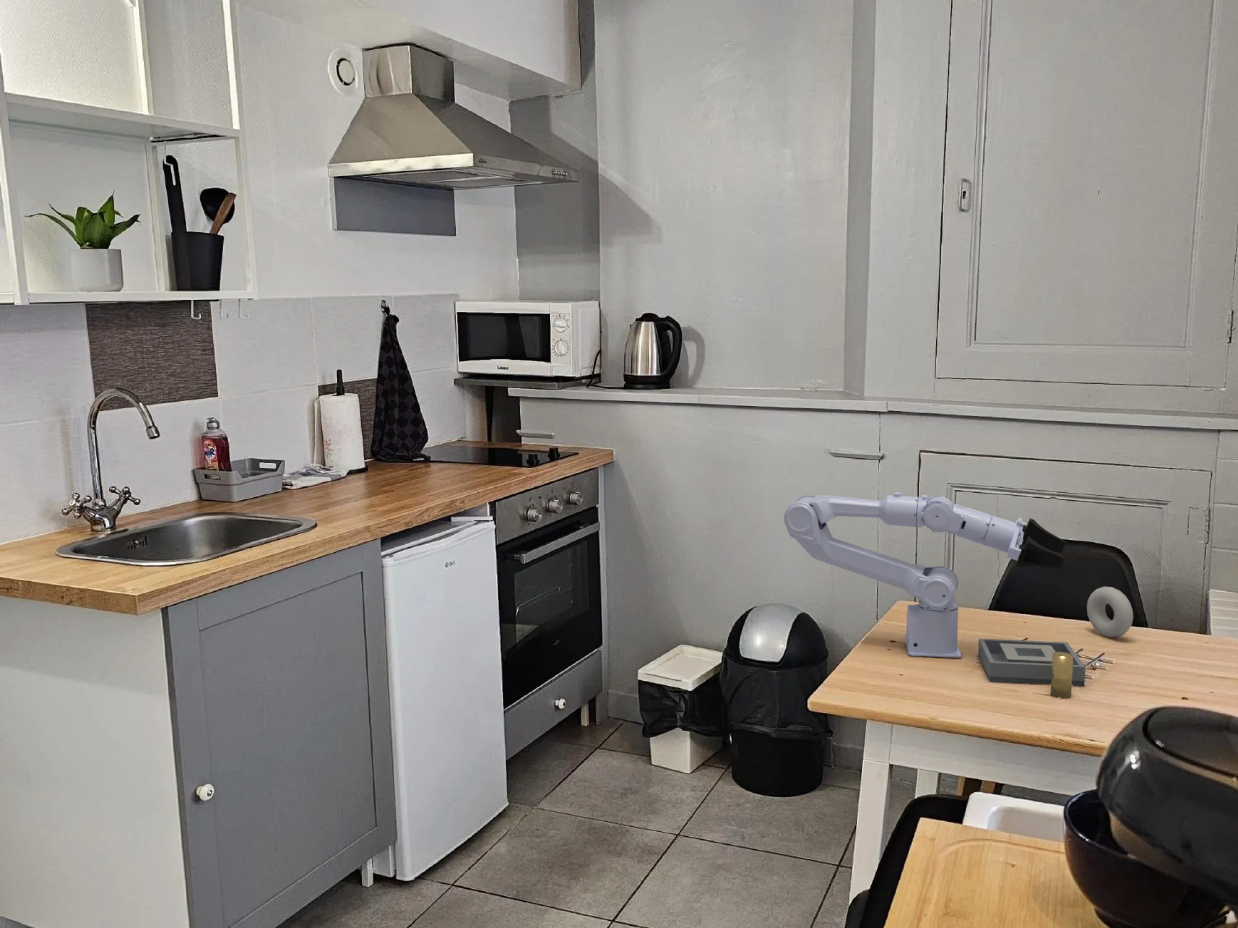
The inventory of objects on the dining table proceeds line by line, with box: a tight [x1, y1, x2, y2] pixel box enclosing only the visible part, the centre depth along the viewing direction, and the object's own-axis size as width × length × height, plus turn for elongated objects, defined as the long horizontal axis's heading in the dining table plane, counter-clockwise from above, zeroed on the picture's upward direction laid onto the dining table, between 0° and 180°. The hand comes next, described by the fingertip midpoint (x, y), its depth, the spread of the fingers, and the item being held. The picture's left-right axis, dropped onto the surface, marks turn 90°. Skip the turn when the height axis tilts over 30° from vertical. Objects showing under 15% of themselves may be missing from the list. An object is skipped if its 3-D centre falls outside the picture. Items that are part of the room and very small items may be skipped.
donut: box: [1086, 586, 1134, 638], centre depth 208 cm, size 10×4×10 cm, turn 23°
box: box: [977, 638, 1086, 687], centre depth 190 cm, size 16×14×4 cm
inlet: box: [999, 643, 1055, 664], centre depth 190 cm, size 9×9×2 cm
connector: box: [1050, 652, 1073, 699], centre depth 178 cm, size 3×3×7 cm
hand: (1063, 554), depth 191 cm, fingers open, 7 cm apart
